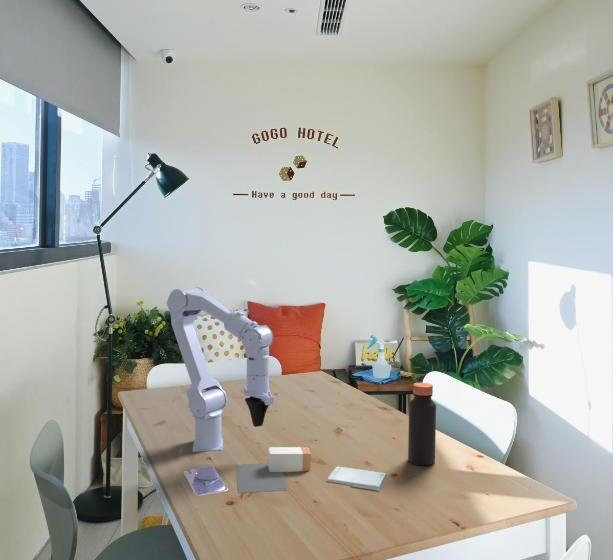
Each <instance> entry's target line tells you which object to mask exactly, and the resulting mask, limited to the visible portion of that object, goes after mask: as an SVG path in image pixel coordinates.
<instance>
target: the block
mask: <svg viewBox="0 0 613 560" xmlns="http://www.w3.org/2000/svg"><path fill="white" fill-rule="evenodd" d="M267 454H268V457H267V463H268V468H269V472H283V473H289V472H290V473H291V472H293V473H294V472H309V471H310V472H311V459H312V457H311V456H312V453H311V451H310V448H309V446H286V447H285V446H284V447H283V446H282V447H281V446H279V447H278V446H276V447H275V446H271V447H269V446H268V453H267Z"/></svg>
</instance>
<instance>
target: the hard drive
mask: <svg viewBox="0 0 613 560" xmlns="http://www.w3.org/2000/svg"><path fill="white" fill-rule="evenodd" d="M387 476H388V475H387V473H385V472H378V471H372V470H367V469H365V470H364V469H358V468H351V467H345V466H336V467H335V468H334V469H333V470H332V472H331V473H330V475H329V476H328V477H327V481H326V482H328V483H333V484H334V483H335V484H341V485H348V486H349V487H353V488H359V489H364V490H365V489H366V490H373V491H377V492H378V491H379V492H380V490H381V489H382V487H383V484H384V483H385V481H386V479H387V478H388V477H387Z"/></svg>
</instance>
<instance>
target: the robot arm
mask: <svg viewBox="0 0 613 560" xmlns="http://www.w3.org/2000/svg"><path fill="white" fill-rule="evenodd" d="M166 305H167V308H168V311H169V314H170V322H171V327H172V330H173V333H174V335H175V338H176V341H177V344H178V347H179V350H180V354H181V356H182V359H183V363H184V365H185V368H186V371H187V374H188V377H189V380H190V383H191V385H190V387H189V388H188V390H187V392H186V395H187V399H188V401H187V402H188V403H187V404H188V408H189V412H190V413H191V415H192V417H194V440H193V446H192V453H193V452H194V453H196V452H216V451H217V452H218V451H223V450H224V437H222V413H224V408H225V407H226V406H227V405H228V404H227V403H228V396H227V393H226V391H225V390H224V389H223V388H222V386H221V385H220V384H221V383H220V382H219V381H218V380H217V379H215V378H213V377H212V376H211V373H210V370H209V367H208V364H207V361H206V359H205V355H204V353H203V350H202V346H201V344H200V341H199V338H198V335H197V333H196V330H195V327H194V322H195V320H196V319H197V317H198V316H199V315H200V314H201V313H202V311H203V312H204V313H206V314H208V315H209V316H211V317H212V318H215V319H216V320H218V321H219V322H221V323H223V328H224V330H226V331H227V332H228V333H230V334H231V335H233V336H234V337H236V338H237V339H238V340H240V342H241V344H242V346H243V348H244V351H245V356H246V384H243V386H242V389H243V390H242V393H241V394H242V395H243V396H249V397H245V399H244V401H245V404H246V405H247V407H248V410H249V413H250V419H251V421H252V426H253V427H255V428H257V427H263V425H264V421H265V418H266V417H265V416H266V413H267V411H268V408H269V406H270V405H274V402H275V401H274V396H273V395H272V393H271V390H270V346H272V344H273V342H274V334H273V331H272V330H271V329H270V328H269V326H268V325H266V324H265V325H264V324H262V325H259V324H258V322H256V321H255V320H254V321H252V319H250V318H249V317H247V316H245V313H244V312H243V311H242V310H240V311H237V310H236V311H235V310H234V311H232V312H231V310H229V309H228V308H227V307H225V306H224V305H223V304H221V303H220V302H219V301H217V300H216V299H215V298H213V297H212V296H211V295H210V292H209V291H207V290H205V289H204V288H202V287H199V286H197V287H192V288H184V289H183V288H182V289H181V288H179V289H177V288H176V289H173V290H172V291H171V292H170V293H169V295H168V298H167V300H166Z"/></svg>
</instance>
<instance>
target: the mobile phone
mask: <svg viewBox="0 0 613 560" xmlns="http://www.w3.org/2000/svg"><path fill="white" fill-rule="evenodd" d="M183 473H184V476H185V477H186V479H187V482H188V484H189V486H190V487H191V489H192V491H193V493H194V495H196V496H205V495H211V494H218V493H224V492H226V491H228V490H229V488H228V487H227V486H226V484H225V482H224V481H223V480H222V478H221V476H220V475H219V473H218V472H217V470H216V469H215V467H213V466H205V467H198V468H193V469H192V468H191V469H187V470H185V471H183Z"/></svg>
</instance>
